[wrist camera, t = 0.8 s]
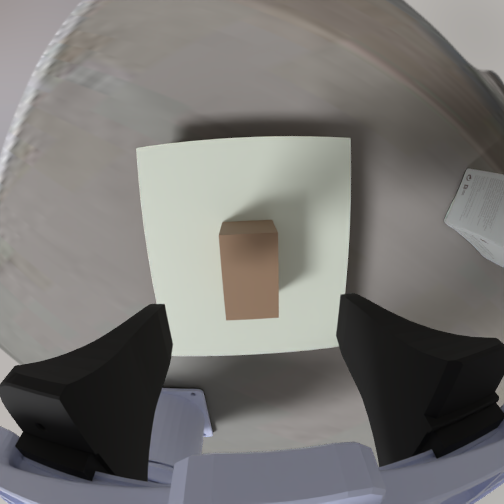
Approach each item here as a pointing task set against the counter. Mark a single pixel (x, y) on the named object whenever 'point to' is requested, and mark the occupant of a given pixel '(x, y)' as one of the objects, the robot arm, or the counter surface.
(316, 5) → the counter surface
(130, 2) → the counter surface
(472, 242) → the skincare box
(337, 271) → the lid
